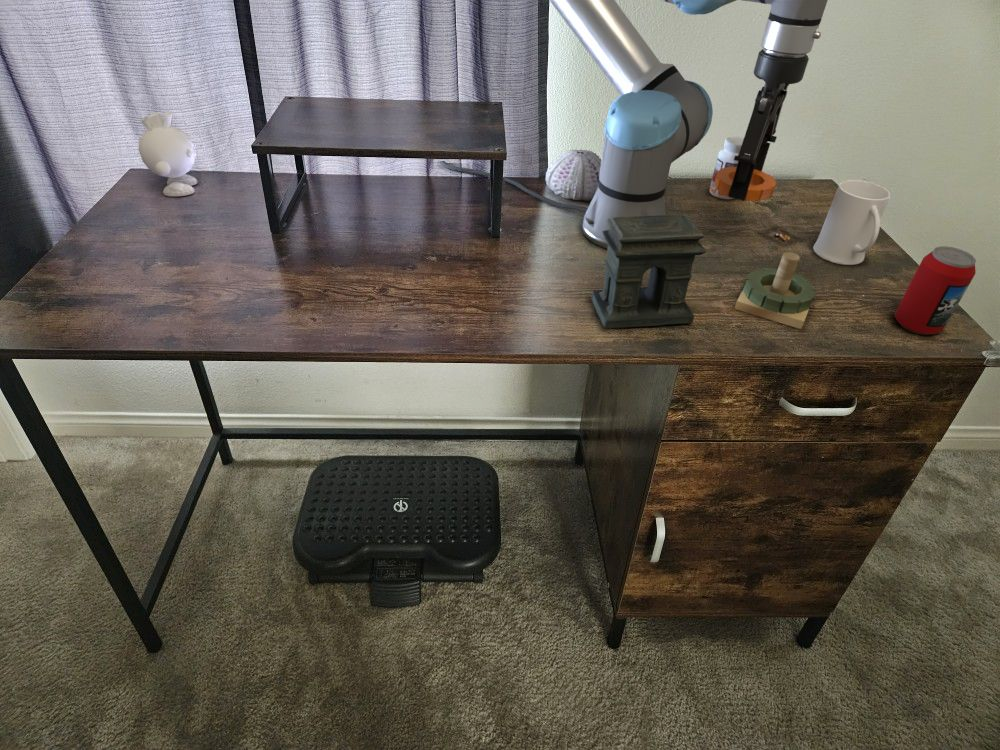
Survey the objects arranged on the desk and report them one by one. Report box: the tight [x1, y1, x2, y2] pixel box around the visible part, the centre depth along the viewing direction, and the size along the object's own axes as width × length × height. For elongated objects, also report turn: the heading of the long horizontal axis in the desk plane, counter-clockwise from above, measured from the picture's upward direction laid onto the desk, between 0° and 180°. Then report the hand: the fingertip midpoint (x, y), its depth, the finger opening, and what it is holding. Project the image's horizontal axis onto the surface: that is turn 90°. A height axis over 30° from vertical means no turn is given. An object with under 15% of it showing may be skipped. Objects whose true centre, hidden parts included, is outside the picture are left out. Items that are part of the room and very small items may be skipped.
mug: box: [812, 179, 892, 266], centre depth 110 cm, size 12×8×12 cm
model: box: [590, 213, 707, 329], centre depth 94 cm, size 14×9×15 cm, turn 99°
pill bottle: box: [709, 136, 750, 200], centre depth 130 cm, size 6×6×11 cm
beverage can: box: [894, 245, 977, 336], centre depth 95 cm, size 7×7×12 cm
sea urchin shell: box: [545, 149, 602, 201], centre depth 130 cm, size 13×14×8 cm
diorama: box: [772, 227, 791, 242], centre depth 119 cm, size 3×4×2 cm
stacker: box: [734, 251, 817, 330], centre depth 99 cm, size 10×10×8 cm
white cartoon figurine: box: [138, 109, 198, 197], centre depth 121 cm, size 15×10×15 cm, turn 13°
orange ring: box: [714, 167, 777, 202], centre depth 115 cm, size 10×10×2 cm
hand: (744, 187), depth 115 cm, fingers closed on orange ring, 10 cm apart
